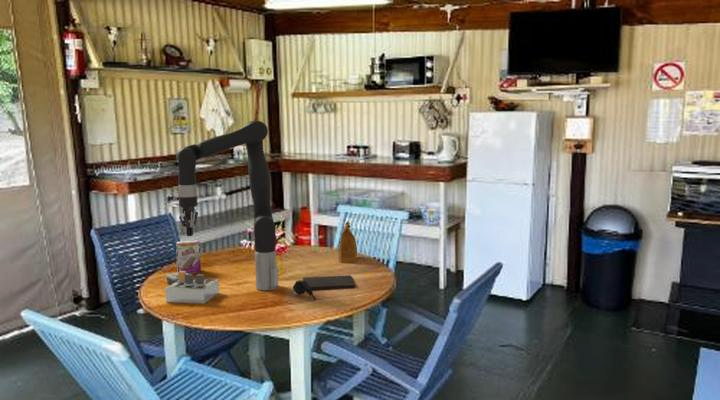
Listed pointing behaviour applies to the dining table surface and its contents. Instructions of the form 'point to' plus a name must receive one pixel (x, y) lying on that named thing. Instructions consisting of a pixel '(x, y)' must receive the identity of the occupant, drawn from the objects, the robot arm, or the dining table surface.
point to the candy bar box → (188, 256)
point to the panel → (192, 292)
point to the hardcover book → (329, 282)
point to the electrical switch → (172, 278)
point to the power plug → (302, 288)
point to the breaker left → (200, 280)
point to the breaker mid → (189, 280)
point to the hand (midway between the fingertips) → (190, 235)
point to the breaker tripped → (181, 276)
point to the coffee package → (347, 246)
